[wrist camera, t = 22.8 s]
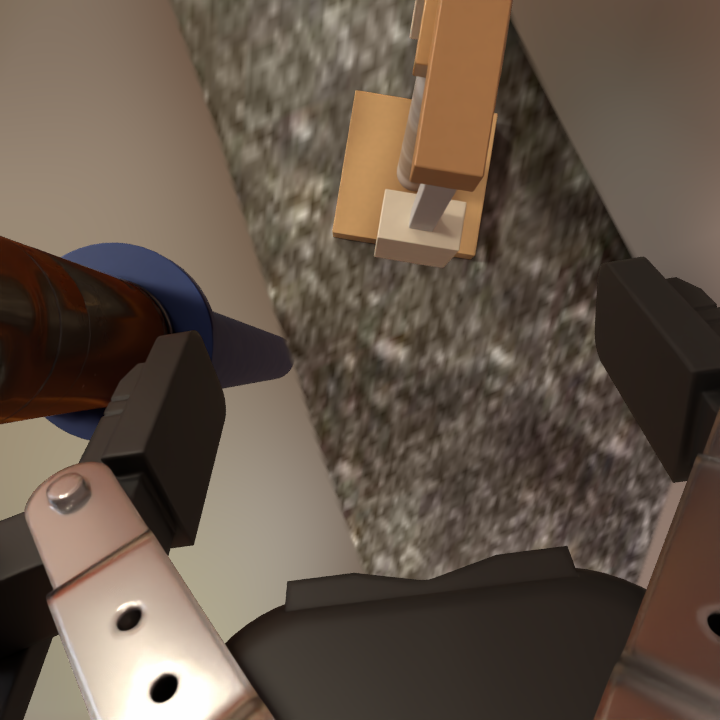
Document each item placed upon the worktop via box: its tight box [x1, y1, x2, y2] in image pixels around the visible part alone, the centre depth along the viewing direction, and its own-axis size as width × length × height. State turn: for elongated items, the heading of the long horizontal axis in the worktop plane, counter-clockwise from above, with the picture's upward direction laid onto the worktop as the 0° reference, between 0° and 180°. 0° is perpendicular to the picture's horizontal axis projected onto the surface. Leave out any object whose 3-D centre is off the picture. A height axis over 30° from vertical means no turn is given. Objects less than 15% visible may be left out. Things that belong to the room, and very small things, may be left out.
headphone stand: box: [333, 0, 513, 259], centre depth 32 cm, size 10×10×21 cm
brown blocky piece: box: [374, 0, 512, 268], centre depth 27 cm, size 4×15×14 cm, turn 171°
